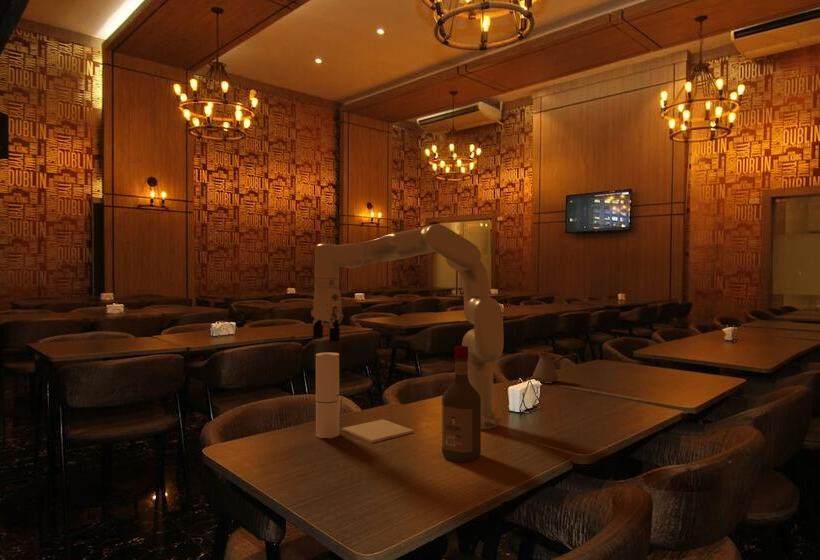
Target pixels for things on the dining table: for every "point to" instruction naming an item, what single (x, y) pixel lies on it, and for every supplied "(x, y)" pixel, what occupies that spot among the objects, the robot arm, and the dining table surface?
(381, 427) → the mat
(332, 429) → the cylindrical container
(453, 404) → the liquor
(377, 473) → the dining table surface
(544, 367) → the coffee pot
